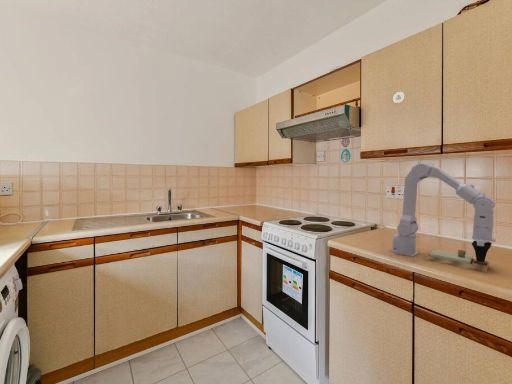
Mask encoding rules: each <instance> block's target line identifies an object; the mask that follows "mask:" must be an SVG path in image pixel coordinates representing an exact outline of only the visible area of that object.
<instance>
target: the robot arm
mask: <svg viewBox="0 0 512 384" xmlns="http://www.w3.org/2000/svg"><path fill="white" fill-rule="evenodd" d="M426 178H436V179H439V180H440V181H441V182H443V183H444V184H446V185H448V186H450V187H451V188H453V189H454V190H455V194H456V195H457V196H458V197H460V198H462V200H464V201H466V202H467V203H468V204H469V205H472V206H473V209H474V215H473V226H472V227H473V229H472V236H471V239H472V240H473V242H472V241H471V245H472V248H473V249H474V253H475V259H477V261H481V262H484V260H485V261H486V257H487V254H488V251H489V249H491V247H492V244H493V242H497V239H496V238H493V228H494V213H495V211H494V208H495V206H496V202H495V200H494V199H493V198H492V197H491V196H487V194H486V193H485V192H482V191H481V190H480V191H479V190H478V189H477V188H475V187H476V186H475V185H474V184H469V183H462V182H460V181H459V180H457V179H456V178H455V177H453V176H452V175H450V174H449V173H448V172H447V171H445V170H444V169H442V168H441V167H439V166H436V165H434V164H433V163H431V162H428V163H427V162H419V163H416V164H415V165H413V166H412V167H411V169H410V171H409V172H408V174H407V175H406V177H405V178H404V188H403V200H402V201H403V202H402V216H401V217H400V219H399V223H398V225H397V227H396V229H397V232H398V233H394V234H393V236H392V248H391V253H393V254H399V255H403V256H408V257H412V258H414V257H415V256H417V255H418V253H419V252H418V251H416V248H417V244H416V243H417V232H418V230H419V225H418V223H417V221H418V219H417V217H416V206H417V195H418V192H417V191H418V183H421V181H423V180H424V179H426Z"/></svg>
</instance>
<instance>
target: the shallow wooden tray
mask: <svg viewBox="0 0 512 384" xmlns="http://www.w3.org/2000/svg"><path fill="white" fill-rule="evenodd" d="M432 251H433V250H431V251H430V252H429V253H428V254H426V256H425V257H426V260H425V261H428V262H432V263H433V262H434V263H439V264H443V265H448V266H453V267H459V268H463V269H467V270H473V271H478V272H482V273H488V270H489V263H490V261H487V260H485V265H482V264H477V263H476V258H473V259H472V261H471V263H470V264H469V263H464V262H459V261H454V260H449V259H443V258H438V257H433V256H430V253H431V252H432Z"/></svg>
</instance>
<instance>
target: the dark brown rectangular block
mask: <svg viewBox="0 0 512 384" xmlns="http://www.w3.org/2000/svg"><path fill="white" fill-rule="evenodd" d="M475 259H476V258H475ZM485 261H486V259H485V260H484V262H481V261H477V259H476V263H477V264H482V265H485Z"/></svg>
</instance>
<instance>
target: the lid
mask: <svg viewBox="0 0 512 384" xmlns="http://www.w3.org/2000/svg"><path fill="white" fill-rule="evenodd" d="M431 251H432V252H431ZM431 251H430V252H431V253H430V252H429V253H430V256H433V257H438V258H443V259H449V260H454V261H459V262H464V263H469V264H470V263H471V261H472V259H474V258H473V255H469V254H467V252H466V250H463V249H458V250H457V252H452V251H447V250H441V249H435V248H434V249H433V250H431Z"/></svg>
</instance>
